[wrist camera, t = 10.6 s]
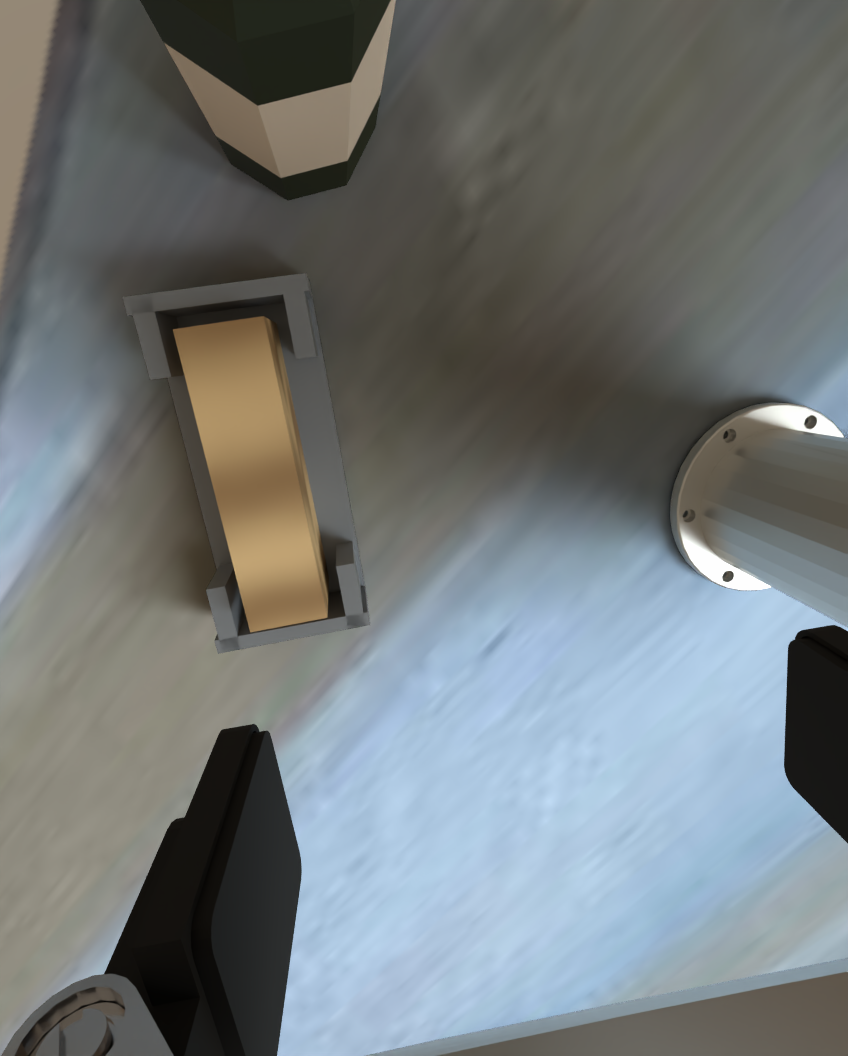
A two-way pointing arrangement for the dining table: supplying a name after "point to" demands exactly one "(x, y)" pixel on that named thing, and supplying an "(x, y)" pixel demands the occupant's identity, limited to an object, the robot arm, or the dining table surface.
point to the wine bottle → (283, 81)
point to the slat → (257, 468)
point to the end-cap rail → (317, 429)
